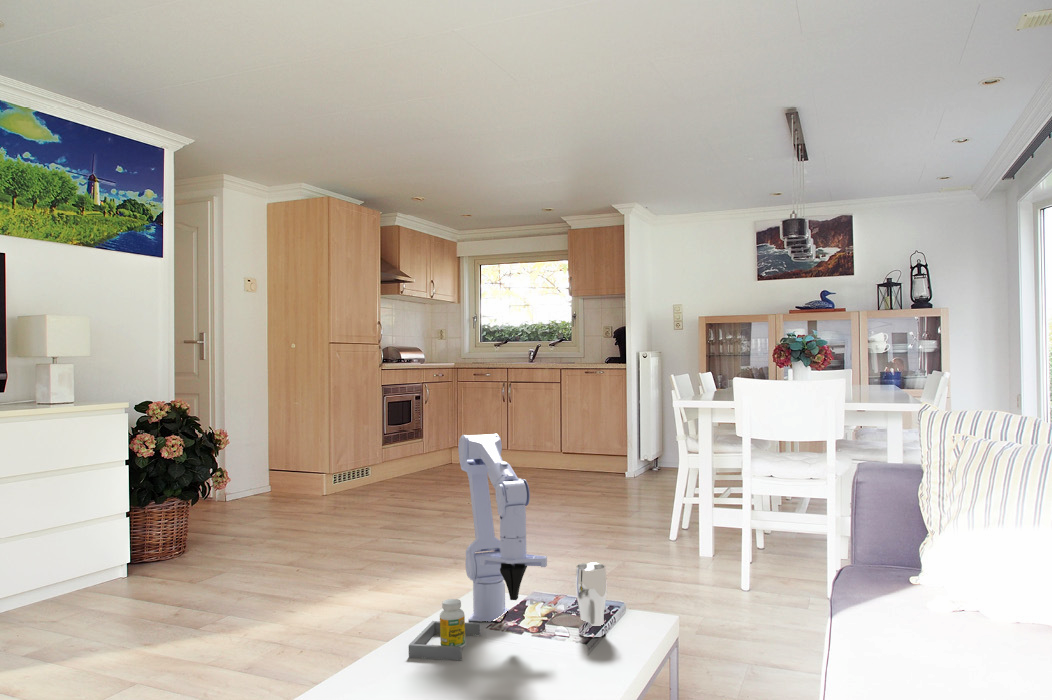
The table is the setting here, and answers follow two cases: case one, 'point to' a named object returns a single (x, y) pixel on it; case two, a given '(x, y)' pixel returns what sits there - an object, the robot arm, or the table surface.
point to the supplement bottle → (452, 624)
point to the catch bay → (437, 651)
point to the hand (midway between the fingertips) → (514, 598)
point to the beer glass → (591, 592)
